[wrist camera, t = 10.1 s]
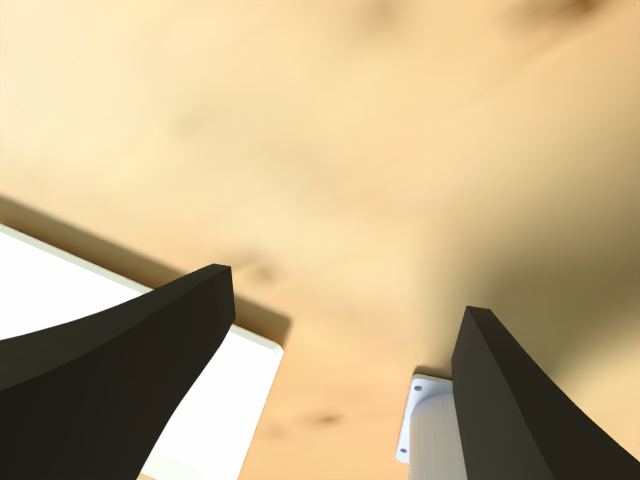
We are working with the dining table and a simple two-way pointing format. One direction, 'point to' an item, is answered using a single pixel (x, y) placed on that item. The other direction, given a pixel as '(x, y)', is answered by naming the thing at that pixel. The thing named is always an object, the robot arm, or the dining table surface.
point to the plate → (201, 400)
